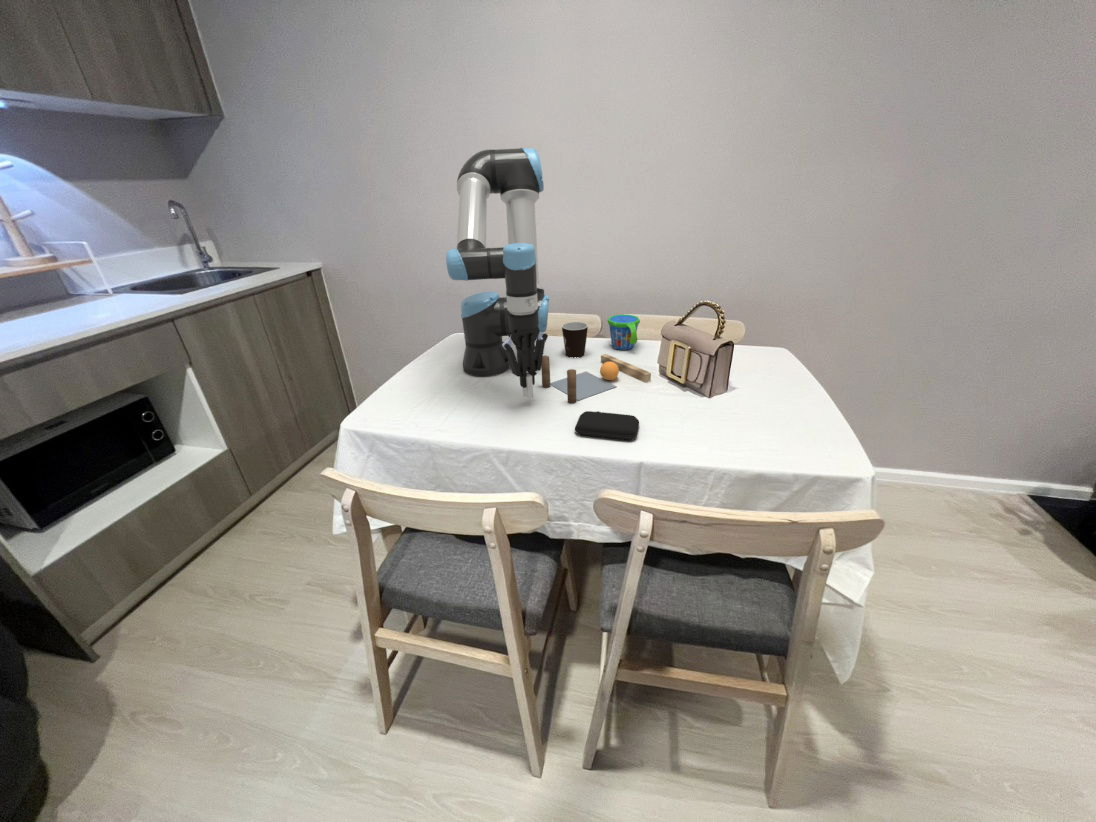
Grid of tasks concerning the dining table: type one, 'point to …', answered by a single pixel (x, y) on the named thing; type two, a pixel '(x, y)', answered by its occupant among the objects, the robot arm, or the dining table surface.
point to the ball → (609, 370)
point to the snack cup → (623, 331)
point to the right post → (571, 385)
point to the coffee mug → (574, 338)
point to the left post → (545, 372)
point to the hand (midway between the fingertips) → (528, 396)
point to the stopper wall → (628, 368)
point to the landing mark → (585, 385)
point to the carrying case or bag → (607, 425)
